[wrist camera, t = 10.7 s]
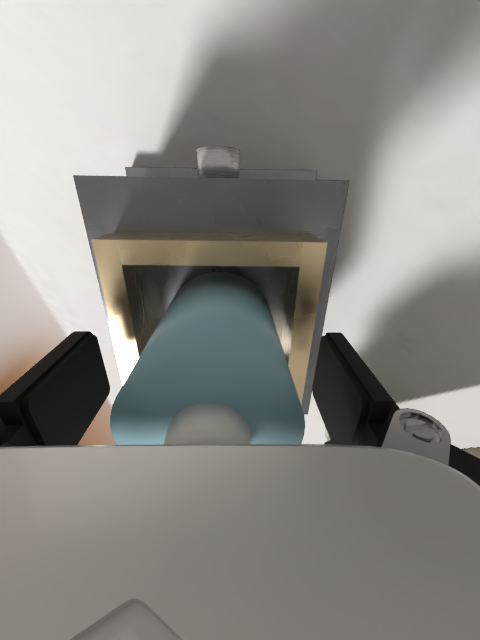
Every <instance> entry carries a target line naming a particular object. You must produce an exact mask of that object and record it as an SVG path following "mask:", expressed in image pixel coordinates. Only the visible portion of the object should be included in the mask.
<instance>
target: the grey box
mask: <svg viewBox="0 0 480 640" xmlns="http://www.w3.org/2000/svg"><path fill="white" fill-rule="evenodd" d="M125 169H126V176H76V175H73V177H74V181H75V185H76V190H77V194H78V198H79V202H80V207H81V211H82V215H83V219H84V224H85V228H86V232H87V236H88V240H89V245H90V249H91V253H92V257H93V262H94V266H95V270H96V274H97V279H98V283H99V287H100V291H101V296H102V300H103V304H104V308H105V313H106V317H107V321H108V325H109V330H110V334H111V338H112V342H113V347H114V351H115V355H116V359H117V364H118V368H119V372H120V376H121V381H122V385H124V383H125V381H126V379H127V378H128V376H129V374H130V372H131V371H132V369H133V367H134V366H135V364H136V362H137V360H138V359H139V357H140V355H141V353H142V352H143V350H144V348H145V347H146V345H147V343H148V341H149V340H150V338H151V336H152V334H153V333H154V331H155V329H156V327H157V326H158V324H159V322H160V321H161V319H162V317H163V315H164V314H165V312H166V310H167V308H168V307H169V305H170V303H171V301H172V300H173V298H174V296H175V295H176V293H177V292H178V290H179V289H180V288H181V287H182V286H183V285H184V284H185V283H186V282H188V281H190V280H191V279H193V278H195V277H197V276H199V275H202V274H205V273H211V272H227V273H232V274H236V275H239V276H241V277H243V278H245V279H247V280H249V281H250V282H252V283H253V284H254V285H255V286H256V287H257V288H258V289H259V290H260V291H261V292H262V293H263V295H264V297H265V298H266V300H267V303H268V305H269V308H270V311H271V314H272V317H273V320H274V324H275V327H276V330H277V333H278V336H279V339H280V342H281V345H282V348H283V351H284V354H285V357H286V360H287V363H288V366H289V370H290V373H291V376H292V379H293V382H294V385H295V388H296V391H297V394H298V397H299V400H300V403H301V406H302V410H303V413H304V414H308V410H309V404H310V399H311V393H312V386H313V380H314V374H315V369H316V363H317V357H318V352H319V346H320V340H321V337H322V331H323V326H324V320H325V314H326V309H327V303H328V297H329V292H330V286H331V281H332V275H333V269H334V264H335V258H336V253H337V247H338V241H339V236H340V230H341V224H342V219H343V213H344V208H345V202H346V196H347V191H348V185H349V181H348V180H316V174H317V171H309V170H257V169H239V149H236V148H231V147H219V146H209V147H199V148H197V168H153V167H125Z"/></svg>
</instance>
